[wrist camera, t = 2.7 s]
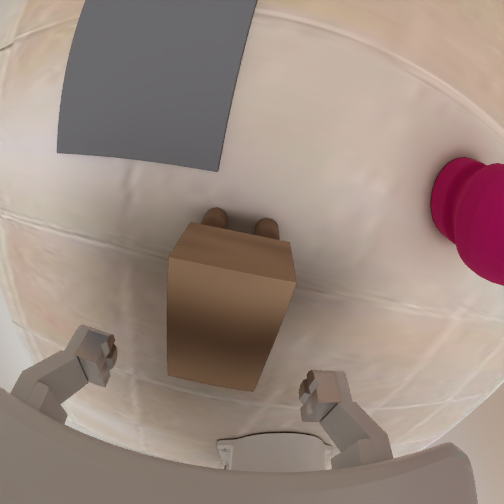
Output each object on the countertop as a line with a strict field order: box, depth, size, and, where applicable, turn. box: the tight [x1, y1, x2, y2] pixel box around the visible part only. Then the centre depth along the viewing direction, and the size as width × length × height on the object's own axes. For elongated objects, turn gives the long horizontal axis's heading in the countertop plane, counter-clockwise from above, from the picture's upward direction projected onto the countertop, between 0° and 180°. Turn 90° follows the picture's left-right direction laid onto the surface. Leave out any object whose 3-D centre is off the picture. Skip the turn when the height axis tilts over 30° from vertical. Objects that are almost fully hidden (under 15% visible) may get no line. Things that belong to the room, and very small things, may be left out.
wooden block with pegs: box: [167, 208, 297, 392], centre depth 15 cm, size 8×5×7 cm, turn 168°
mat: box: [57, 0, 257, 172], centre depth 11 cm, size 14×12×1 cm
